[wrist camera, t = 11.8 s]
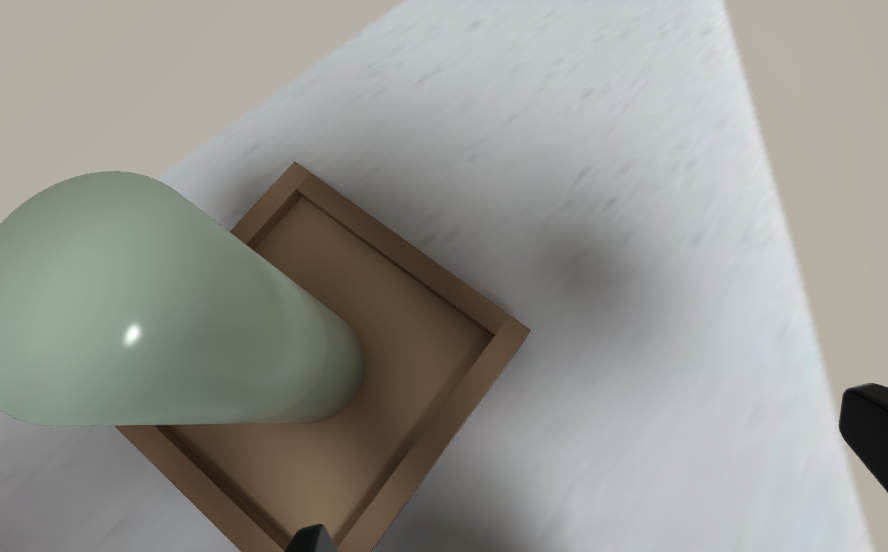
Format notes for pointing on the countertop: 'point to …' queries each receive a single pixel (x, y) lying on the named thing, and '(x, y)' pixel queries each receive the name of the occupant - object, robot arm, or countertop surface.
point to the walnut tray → (378, 399)
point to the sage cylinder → (157, 317)
